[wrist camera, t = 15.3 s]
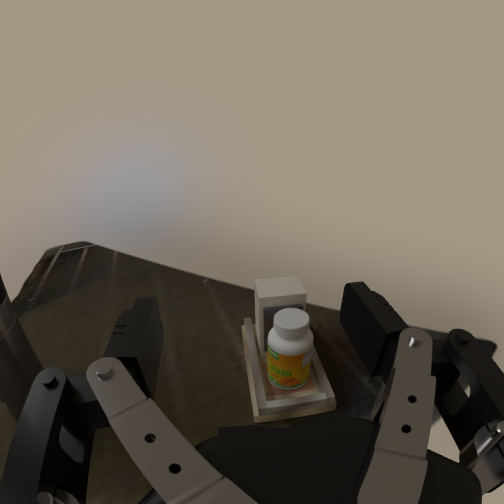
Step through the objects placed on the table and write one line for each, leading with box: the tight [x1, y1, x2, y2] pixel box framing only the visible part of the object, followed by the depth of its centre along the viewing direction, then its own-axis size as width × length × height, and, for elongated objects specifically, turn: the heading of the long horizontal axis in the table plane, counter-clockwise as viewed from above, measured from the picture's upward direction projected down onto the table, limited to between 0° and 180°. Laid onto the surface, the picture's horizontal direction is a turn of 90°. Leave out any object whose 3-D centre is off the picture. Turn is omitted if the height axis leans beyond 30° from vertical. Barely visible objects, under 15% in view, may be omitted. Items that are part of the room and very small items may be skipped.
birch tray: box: [242, 318, 337, 423], centre depth 38 cm, size 10×18×3 cm, turn 6°
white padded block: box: [254, 276, 307, 357], centre depth 39 cm, size 6×5×10 cm
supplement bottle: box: [268, 308, 313, 390], centre depth 33 cm, size 5×5×10 cm
